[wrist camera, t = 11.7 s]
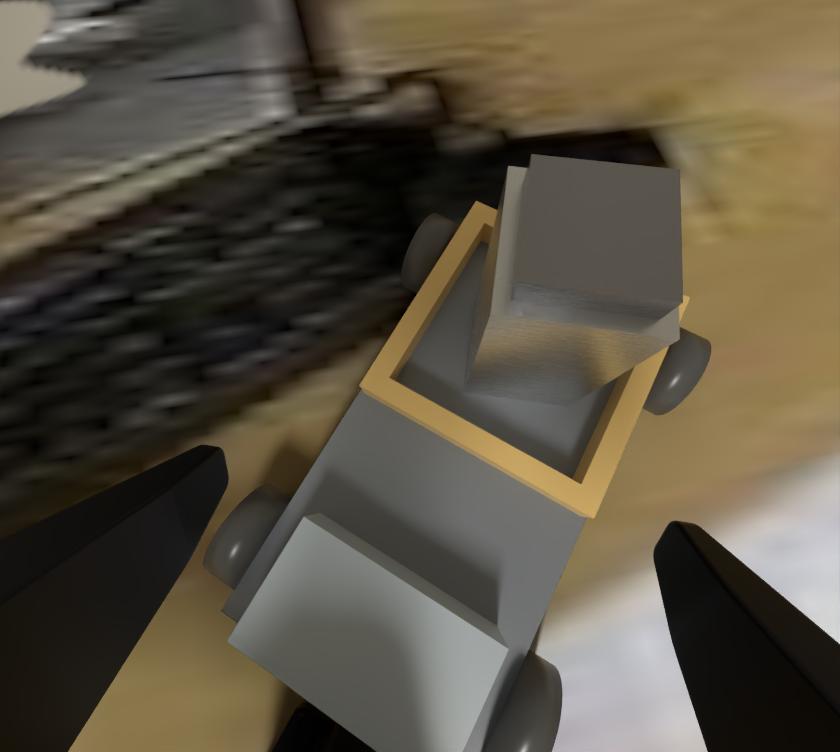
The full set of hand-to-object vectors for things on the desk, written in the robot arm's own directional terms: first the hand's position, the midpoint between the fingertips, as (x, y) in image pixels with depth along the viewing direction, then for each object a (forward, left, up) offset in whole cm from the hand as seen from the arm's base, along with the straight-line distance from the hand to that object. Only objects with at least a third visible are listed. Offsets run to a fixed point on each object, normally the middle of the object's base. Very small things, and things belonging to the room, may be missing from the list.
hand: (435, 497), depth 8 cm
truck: (+3, -1, -14) cm, 14 cm away
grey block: (+8, 0, -11) cm, 13 cm away
